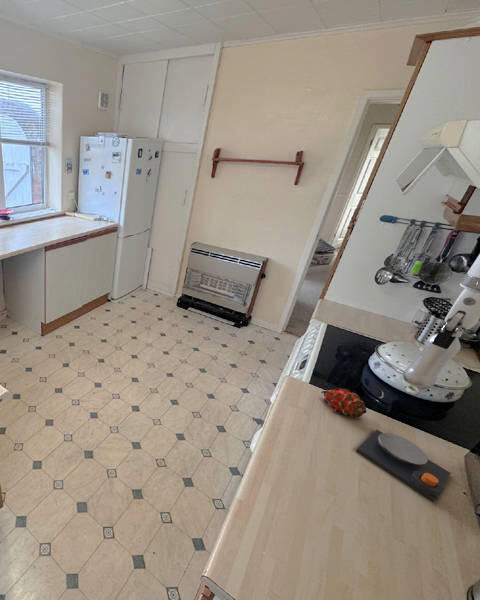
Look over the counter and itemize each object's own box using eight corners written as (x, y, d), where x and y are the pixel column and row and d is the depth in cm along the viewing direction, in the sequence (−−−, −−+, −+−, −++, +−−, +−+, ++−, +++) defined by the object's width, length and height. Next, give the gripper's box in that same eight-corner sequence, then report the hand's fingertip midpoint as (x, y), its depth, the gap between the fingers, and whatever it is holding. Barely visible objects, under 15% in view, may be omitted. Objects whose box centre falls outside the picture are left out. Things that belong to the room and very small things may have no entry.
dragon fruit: (360, 428, 100) (316, 409, 109) (371, 406, 102) (327, 389, 111) (362, 417, 95) (315, 397, 104) (373, 394, 97) (326, 377, 106)
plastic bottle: (401, 374, 101) (437, 319, 92) (430, 385, 96) (471, 329, 87) (399, 382, 96) (436, 326, 88) (429, 395, 92) (472, 337, 83)
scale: (448, 478, 85) (455, 469, 83) (431, 505, 78) (440, 496, 76) (373, 433, 97) (379, 425, 95) (354, 453, 90) (359, 444, 88)
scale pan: (430, 456, 86) (432, 454, 86) (419, 472, 81) (420, 470, 81) (385, 429, 94) (386, 427, 93) (371, 443, 89) (373, 441, 88)
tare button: (436, 484, 79) (440, 479, 78) (432, 489, 78) (437, 484, 77) (422, 475, 81) (426, 470, 80) (418, 480, 80) (422, 475, 79)
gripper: (498, 296, 75) (452, 358, 83) (513, 285, 83) (470, 342, 91) (453, 284, 80) (415, 343, 88) (471, 275, 89) (435, 330, 97)
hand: (443, 342), depth 90 cm, fingers closed on plastic bottle, 6 cm apart
